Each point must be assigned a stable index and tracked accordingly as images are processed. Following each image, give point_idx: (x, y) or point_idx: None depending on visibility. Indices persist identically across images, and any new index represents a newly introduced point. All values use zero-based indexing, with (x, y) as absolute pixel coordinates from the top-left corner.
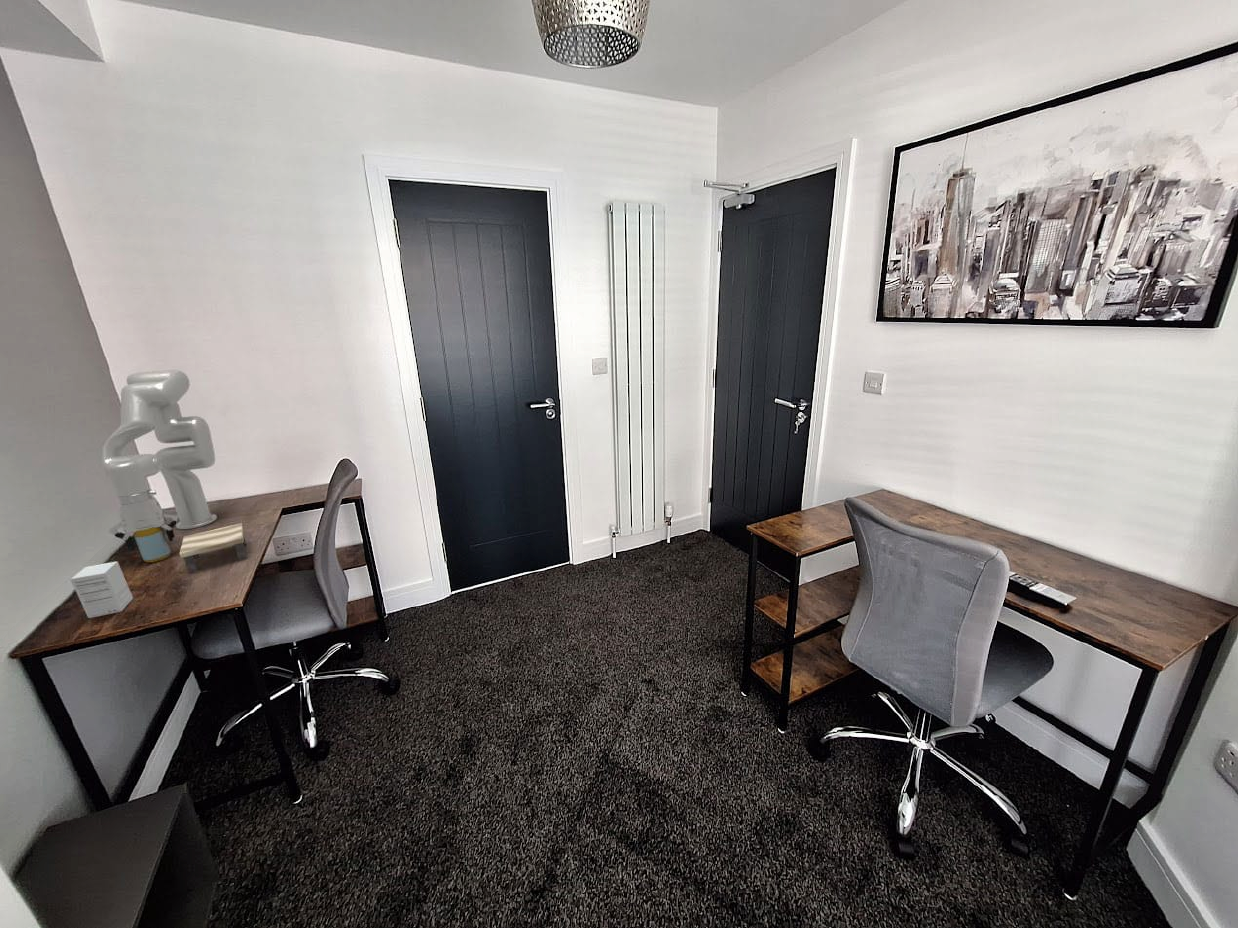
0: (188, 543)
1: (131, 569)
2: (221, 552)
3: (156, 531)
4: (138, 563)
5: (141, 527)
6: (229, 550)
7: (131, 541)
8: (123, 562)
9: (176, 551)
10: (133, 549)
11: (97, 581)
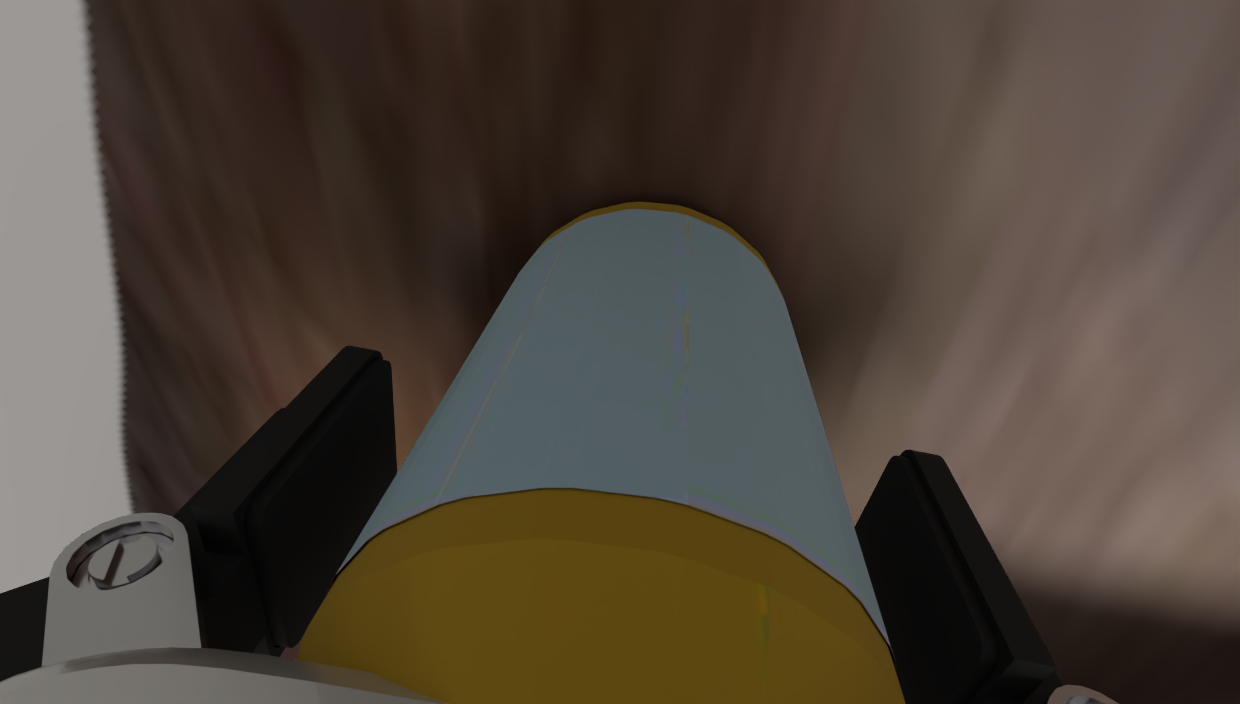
0: None
1: (419, 411)
2: (1089, 660)
3: None
4: (461, 299)
5: None
6: (1151, 672)
7: (318, 587)
8: (278, 83)
9: (851, 273)
10: (386, 483)
11: None
